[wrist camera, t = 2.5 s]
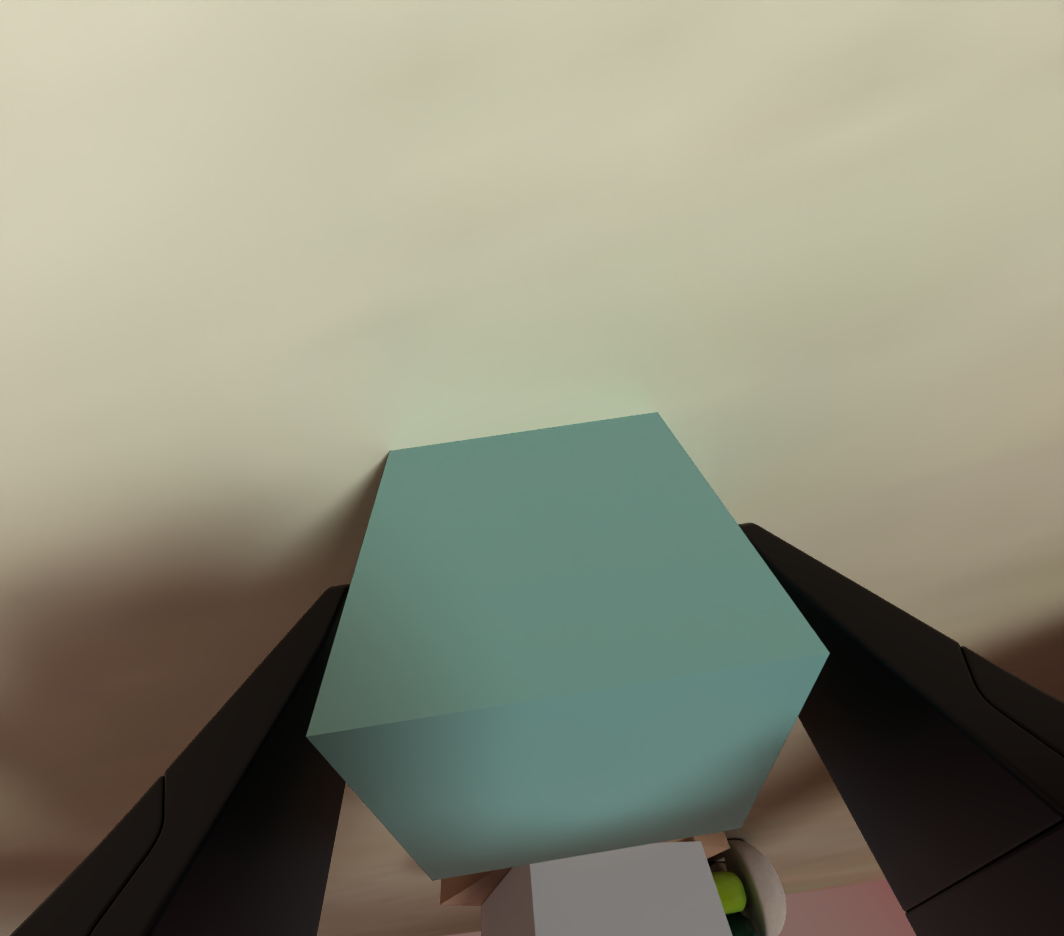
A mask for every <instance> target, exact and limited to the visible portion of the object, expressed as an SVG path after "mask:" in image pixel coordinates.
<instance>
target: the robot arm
mask: <svg viewBox="0 0 1064 936" xmlns="http://www.w3.org/2000/svg"><path fill="white" fill-rule="evenodd" d="M738 525H739V527H740V528H741V530H742V531H743V532H744V534H745V535H746V537H747V538H748V539H749V541H750V542H751V544H752V545H753V546H754V548H755V549H756V551H757V552H758V553H759V555H760V556H761V558H762V559H763V560H764V562H765V563H766V565H767V566H768V567H769V569H770V570H771V572H772V573H773V574H774V576H775V577H776V579H777V580H778V581H779V583H780V584H781V586H782V587H783V588H784V590H785V591H786V593H787V594H788V595H789V597H790V598H791V600H792V601H793V602H794V604H795V605H796V606H797V608H798V609H799V611H800V612H801V613H802V615H803V616H804V618H805V619H806V620H807V622H808V623H809V625H810V626H811V627H812V629H813V630H814V632H815V633H816V634H817V636H818V637H819V639H820V640H821V641H822V643H823V644H824V646H825V647H826V648H827V650H828V651H829V653H830V654H829V656H828V658H827V660H826V662H825V664H824V666H823V668H822V670H821V672H820V674H819V676H818V678H817V680H816V682H815V683H814V685H813V687H812V689H811V691H810V693H809V695H808V697H807V699H806V701H805V703H804V705H803V707H802V709H801V711H800V713H799V715H798V717H799V719H800V721H801V723H802V724H803V726H804V728H805V730H806V732H807V734H808V735H809V737H810V739H811V741H812V743H813V745H814V746H815V748H816V750H817V752H818V754H819V756H820V758H821V759H822V761H823V763H824V765H825V767H826V769H827V770H828V772H829V774H830V776H831V778H832V780H833V782H834V783H835V785H836V787H837V789H838V791H839V793H840V794H841V796H842V798H843V800H844V802H845V804H846V806H847V807H848V809H849V811H850V813H851V815H852V817H853V818H854V820H855V822H856V824H857V826H858V828H859V829H860V831H861V833H862V835H863V837H864V839H865V841H866V842H867V844H868V846H869V848H870V850H871V852H872V853H873V855H874V857H875V859H876V861H877V863H878V865H879V866H880V868H881V870H882V872H883V874H884V876H885V877H886V879H887V881H888V883H889V885H890V886H891V889H892V890H893V892H894V894H895V896H896V898H897V900H898V901H899V903H900V905H901V907H902V909H903V910H904V911H906V917H907V919H908V921H909V922H910V924H911V926H912V928H913V930H914V931H915V933H916V935H917V936H1064V702H1062V701H1060V700H1059V699H1057V698H1055V697H1053V696H1051V695H1049V694H1047V693H1045V692H1044V691H1042V690H1040V689H1038V688H1036V687H1034V686H1033V685H1031V684H1029V683H1027V682H1026V681H1024V680H1022V679H1020V678H1019V677H1017V676H1015V675H1013V674H1011V673H1010V672H1008V671H1006V670H1004V669H1003V668H1001V667H999V666H997V665H996V664H994V663H992V662H990V661H989V660H987V659H985V658H984V657H982V656H980V655H978V654H977V653H975V652H973V651H972V650H970V649H968V648H967V647H964V646H961V647H960V645H959V643H958V642H956V641H954V640H953V639H951V638H949V637H947V636H946V635H944V634H942V633H941V632H939V631H937V630H936V629H934V628H932V627H930V626H929V625H927V624H925V623H924V622H922V621H920V620H918V619H917V618H915V617H913V616H912V615H910V614H908V613H907V612H905V611H903V610H901V609H900V608H898V607H896V606H895V605H893V604H891V603H889V602H888V601H886V600H884V599H883V598H881V597H879V596H878V595H876V594H874V593H872V592H871V591H869V590H867V589H866V588H864V587H862V586H860V585H859V584H857V583H855V582H854V581H852V580H850V579H849V578H847V577H845V576H843V575H842V574H840V573H838V572H837V571H835V570H833V569H831V568H830V567H828V566H826V565H825V564H823V563H821V562H820V561H818V560H816V559H814V558H813V557H811V556H809V555H808V554H806V553H804V552H803V551H801V550H799V549H797V548H796V547H794V546H792V545H791V544H789V543H787V542H785V541H784V540H782V539H780V538H779V537H777V536H775V535H774V534H772V533H770V532H768V531H767V530H765V529H763V528H762V527H760V526H758V525H756V524H754V523H744V524H738ZM349 588H350V584H346V585H339V586H333V587H330V588H328V589H327V590H326V591H325V592H324V593H323V594H322V595H321V596H320V598H319V599H318V600H317V601H316V602H315V603H314V604H313V605H312V607H311V608H310V609H309V610H308V611H307V612H306V613H305V614H304V616H303V617H302V618H301V619H300V620H299V621H298V622H297V623H296V625H295V626H294V627H293V628H292V629H291V630H290V631H289V632H288V634H287V635H286V636H285V637H284V638H283V639H282V640H281V641H280V643H279V644H278V645H277V646H276V647H275V648H274V649H273V650H272V652H271V653H270V654H269V655H268V656H267V657H266V658H265V659H264V661H263V662H262V663H261V664H260V665H259V666H258V667H257V668H256V670H255V671H254V672H253V673H252V674H251V675H250V676H249V678H248V679H247V680H246V681H245V682H244V683H243V684H242V685H241V687H240V688H239V689H238V690H237V691H236V692H235V693H234V694H233V696H232V697H231V698H230V699H229V700H228V701H227V702H226V703H225V705H224V706H223V707H222V708H221V709H220V710H219V711H218V712H217V714H216V715H215V716H214V717H213V718H212V719H211V720H210V721H209V723H208V724H207V725H206V726H205V727H204V728H203V729H202V730H201V732H200V733H199V734H198V735H197V736H196V737H195V738H194V739H193V741H192V742H191V743H190V744H189V745H188V746H187V747H186V748H185V750H184V751H183V752H182V753H181V754H180V755H179V756H178V757H177V759H176V760H175V761H174V762H173V763H172V764H171V765H170V766H169V768H168V769H167V770H166V771H165V776H161V777H160V778H159V779H158V780H157V781H156V782H155V783H154V784H153V785H152V787H151V788H150V789H149V790H148V791H147V792H146V793H145V794H144V796H143V797H142V798H141V799H140V800H139V801H138V802H137V803H136V804H135V806H134V807H133V808H132V809H131V810H130V811H129V812H128V813H127V814H126V815H125V817H124V818H123V819H122V820H121V821H120V822H119V823H118V824H117V825H116V826H115V827H114V829H113V830H112V831H111V832H110V833H109V834H108V835H107V836H106V837H105V838H104V839H103V841H102V842H101V843H100V844H99V845H98V846H97V847H96V848H95V849H94V850H93V851H92V852H91V853H90V854H89V855H88V856H87V857H86V858H85V859H84V860H83V861H82V863H81V864H80V865H79V866H78V867H77V868H76V869H75V870H74V871H73V872H72V873H71V874H70V875H69V876H68V877H67V878H66V879H65V880H64V881H63V882H62V883H61V884H60V885H59V886H58V887H57V888H56V889H55V891H54V892H53V893H52V894H51V895H50V896H49V897H48V898H47V899H46V900H45V901H44V902H43V903H42V904H41V905H40V906H39V907H38V908H37V909H36V910H35V911H34V912H33V913H32V914H31V915H30V916H29V917H28V918H27V919H26V920H25V921H24V922H23V923H22V924H21V925H20V926H19V927H18V928H17V929H16V930H15V931H14V932H13V933H12V934H11V935H10V936H317V931H318V926H319V921H320V915H321V910H322V905H323V899H324V894H325V889H326V883H327V878H328V873H329V868H330V862H331V857H332V852H333V846H334V841H335V836H336V830H337V825H338V820H339V815H340V809H341V804H342V799H343V793H344V788H345V783H346V782H345V781H344V779H343V778H342V777H341V776H340V775H339V774H338V773H337V771H336V770H335V769H334V768H333V767H332V766H331V765H330V763H329V762H328V761H327V760H326V759H325V758H324V757H323V755H322V754H321V753H320V752H319V751H318V750H317V749H316V748H315V746H314V745H313V744H312V743H311V742H310V741H309V740H308V738H307V737H306V735H307V731H308V728H309V725H310V721H311V718H312V714H313V711H314V708H315V704H316V701H317V697H318V694H319V690H320V687H321V684H322V680H323V677H324V673H325V670H326V667H327V663H328V660H329V656H330V653H331V650H332V646H333V643H334V639H335V636H336V633H337V629H338V626H339V622H340V619H341V616H342V612H343V609H344V605H345V602H346V598H347V595H348V592H349Z"/></svg>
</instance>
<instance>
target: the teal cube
mask: <svg viewBox="0 0 1064 936" xmlns="http://www.w3.org/2000/svg"><path fill="white" fill-rule="evenodd" d="M829 654H830V653H829V651H828V650H827V648H826V647H825V646H824V644H823V643H822V641H821V640H820V639H819V637H818V636H817V634H816V633H815V632H814V630H813V629H812V627H811V626H810V625H809V623H808V622H807V620H806V619H805V618H804V616H803V615H802V613H801V612H800V611H799V609H798V608H797V606H796V605H795V604H794V602H793V601H792V600H791V598H790V597H789V595H788V594H787V593H786V591H785V590H784V588H783V587H782V586H781V584H780V583H779V581H778V580H777V579H776V577H775V576H774V574H773V573H772V572H771V570H770V569H769V567H768V566H767V565H766V563H765V562H764V560H763V559H762V558H761V556H760V555H759V553H758V552H757V551H756V549H755V548H754V546H753V545H752V544H751V542H750V541H749V539H748V538H747V537H746V535H745V534H744V532H743V531H742V530H741V528H740V527H739V525H738V524H737V523H736V521H735V520H734V518H733V517H732V516H731V514H730V513H729V511H728V510H727V509H726V507H725V506H724V504H723V503H722V502H721V500H720V499H719V498H718V496H717V495H716V493H715V492H714V491H713V489H712V488H711V486H710V485H709V484H708V482H707V481H706V479H705V478H704V477H703V475H702V474H701V472H700V471H699V470H698V468H697V467H696V465H695V464H694V463H693V461H692V460H691V458H690V457H689V456H688V454H687V453H686V451H685V450H684V449H683V447H682V446H681V444H680V443H679V442H678V440H677V439H676V437H675V436H674V435H673V433H672V432H671V430H670V429H669V428H668V426H667V425H666V423H665V422H664V421H663V419H662V418H661V416H660V415H659V414H658V412H656V413H649V414H642V415H635V416H628V417H621V418H614V419H607V420H600V421H593V422H587V423H580V424H573V425H566V426H559V427H552V428H545V429H538V430H531V431H524V432H518V433H511V434H504V435H497V436H490V437H483V438H476V439H469V440H462V441H455V442H448V443H442V444H435V445H428V446H421V447H414V448H407V449H400V450H393V451H390V452H389V455H388V459H387V462H386V466H385V469H384V472H383V476H382V479H381V483H380V486H379V489H378V493H377V496H376V500H375V503H374V507H373V510H372V513H371V517H370V520H369V524H368V527H367V530H366V534H365V537H364V541H363V544H362V547H361V551H360V554H359V558H358V561H357V564H356V568H355V571H354V575H353V578H352V581H351V585H350V588H349V592H348V595H347V598H346V602H345V605H344V609H343V612H342V616H341V619H340V622H339V626H338V629H337V633H336V636H335V639H334V643H333V646H332V650H331V653H330V656H329V660H328V663H327V667H326V670H325V673H324V677H323V680H322V684H321V687H320V690H319V694H318V697H317V701H316V704H315V708H314V711H313V714H312V718H311V721H310V725H309V728H308V731H307V735H306V737H307V738H308V740H309V741H310V742H311V743H312V744H313V745H314V746H315V748H316V749H317V750H318V751H319V752H320V753H321V754H322V755H323V757H324V758H325V759H326V760H327V761H328V762H329V763H330V765H331V766H332V767H333V768H334V769H335V770H336V771H337V773H338V774H339V775H340V776H341V777H342V778H343V779H344V781H345V782H346V783H347V784H348V785H349V786H350V787H351V789H352V790H353V791H354V792H355V793H356V794H357V795H358V797H359V798H360V799H361V800H362V801H363V802H364V803H365V804H366V806H367V807H368V808H369V809H370V810H371V811H372V812H373V814H374V815H375V816H376V817H377V818H378V819H379V820H380V822H381V823H382V824H383V825H384V826H385V827H386V828H387V830H388V831H389V832H390V833H391V834H392V835H393V836H394V838H395V839H396V840H397V841H398V842H399V843H400V844H401V845H402V847H403V848H404V849H405V850H406V851H407V852H408V853H409V855H410V856H411V857H412V858H413V859H414V860H415V861H416V863H417V864H418V865H419V866H420V867H421V868H422V869H423V871H424V872H425V873H426V874H427V875H428V876H429V877H430V879H431V880H432V881H433V880H439V879H445V878H451V877H457V876H463V875H468V874H474V873H480V872H486V871H492V870H498V869H504V868H510V867H516V866H522V865H528V864H534V863H540V862H546V861H552V860H557V859H563V858H569V857H575V856H581V855H587V854H593V853H599V852H605V851H611V850H617V849H623V848H629V847H635V846H641V845H646V844H652V843H658V842H664V841H670V840H676V839H682V838H688V837H694V836H700V835H706V834H712V833H718V832H724V831H730V830H735V829H741V827H742V825H743V823H744V822H745V820H746V818H747V816H748V814H749V812H750V810H751V808H752V806H753V804H754V802H755V800H756V798H757V796H758V794H759V792H760V790H761V788H762V786H763V784H764V782H765V780H766V778H767V776H768V774H769V772H770V770H771V768H772V766H773V764H774V762H775V760H776V758H777V756H778V754H779V752H780V751H781V749H782V747H783V745H784V743H785V741H786V739H787V737H788V735H789V733H790V731H791V729H792V727H793V725H794V723H795V721H796V719H797V717H798V715H799V713H800V711H801V709H802V707H803V705H804V703H805V701H806V699H807V697H808V695H809V693H810V691H811V689H812V687H813V685H814V683H815V682H816V680H817V678H818V676H819V674H820V672H821V670H822V668H823V666H824V664H825V662H826V660H827V658H828V656H829Z"/></svg>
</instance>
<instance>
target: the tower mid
mask: <svg viewBox="0 0 1064 936" xmlns="http://www.w3.org/2000/svg"><path fill="white" fill-rule="evenodd" d="M481 936H732V933H731V930H730V927H729V924H728V921H727V918H726V915H725V912H724V909H723V906H722V903H721V900H720V897H719V894H718V891H717V888H716V885H715V882H714V879H713V876H712V873H711V870H710V867H709V864H708V861H707V858H706V855H705V852H704V849H703V846H702V843H701V841H694V842H668V843H652V844H646V845H641V846H635V847H629V848H623V849H617V850H611V851H605V852H599V853H593V854H587V855H581V856H575V857H569V858H563V859H557V860H552V861H546V862H540V863H534V864H528V865H522V866H516V867H512V869H511V870H510V871H509V872H508V874H507V875H506V876H505V877H504V878H503V880H502V881H501V882H500V883H499V885H498V886H497V887H496V888H495V890H494V891H493V892H492V893H491V894H490V896H489V897H488V898H487V899H486V901H485V902H484V903H483V904H482V906H481Z"/></svg>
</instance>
